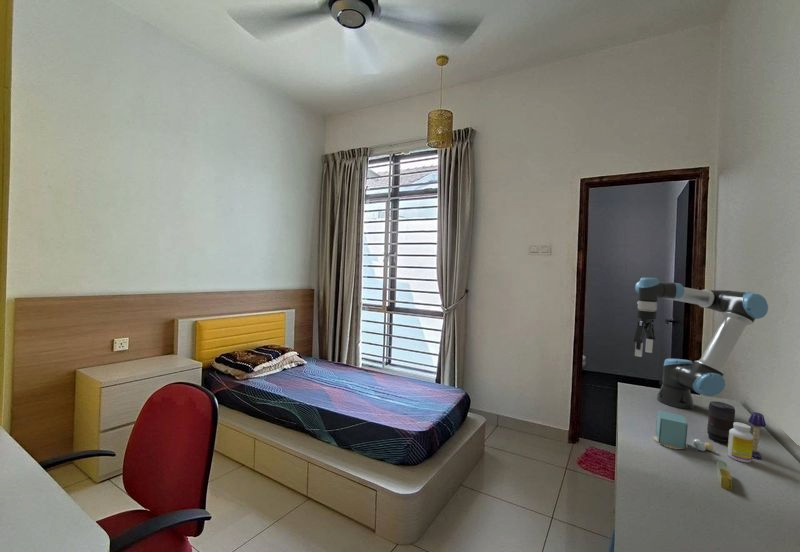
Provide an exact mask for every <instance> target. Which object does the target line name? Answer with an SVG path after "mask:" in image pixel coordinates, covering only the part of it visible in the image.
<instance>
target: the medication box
mask: <svg viewBox="0 0 800 552" xmlns="http://www.w3.org/2000/svg"><path fill="white" fill-rule="evenodd" d="M715 464H716V465H715V466H716V469H715V470H716V474H717V478H718V481H719V483H720V488H721V489H724V490H728V491H730V492H731V491H733V478H732V475H731V472H730V469H729V467H728V464H727V462H724V461H721V460H716V463H715Z"/></svg>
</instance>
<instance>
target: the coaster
mask: <svg viewBox="0 0 800 552" xmlns="http://www.w3.org/2000/svg"><path fill="white" fill-rule="evenodd" d="M652 439H653V441H654V440H655V441H656V442H655V441H654V442H655V443H657V442H658V439H657V437H656V434H653V437H652ZM658 443H659V442H658ZM658 443H657V444H658ZM660 444H662V443H660ZM660 444H659V445H660ZM662 445H665V446H667V447H666V448H668V447H671V448H675V449H674V450H676V449H683V448H679V447H674V446H670V445H666V444H662ZM662 445H661V446H662ZM665 446H664V447H665ZM688 446H689V445H688V443H686V450H687V449H688ZM671 448H670V449H671Z"/></svg>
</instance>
